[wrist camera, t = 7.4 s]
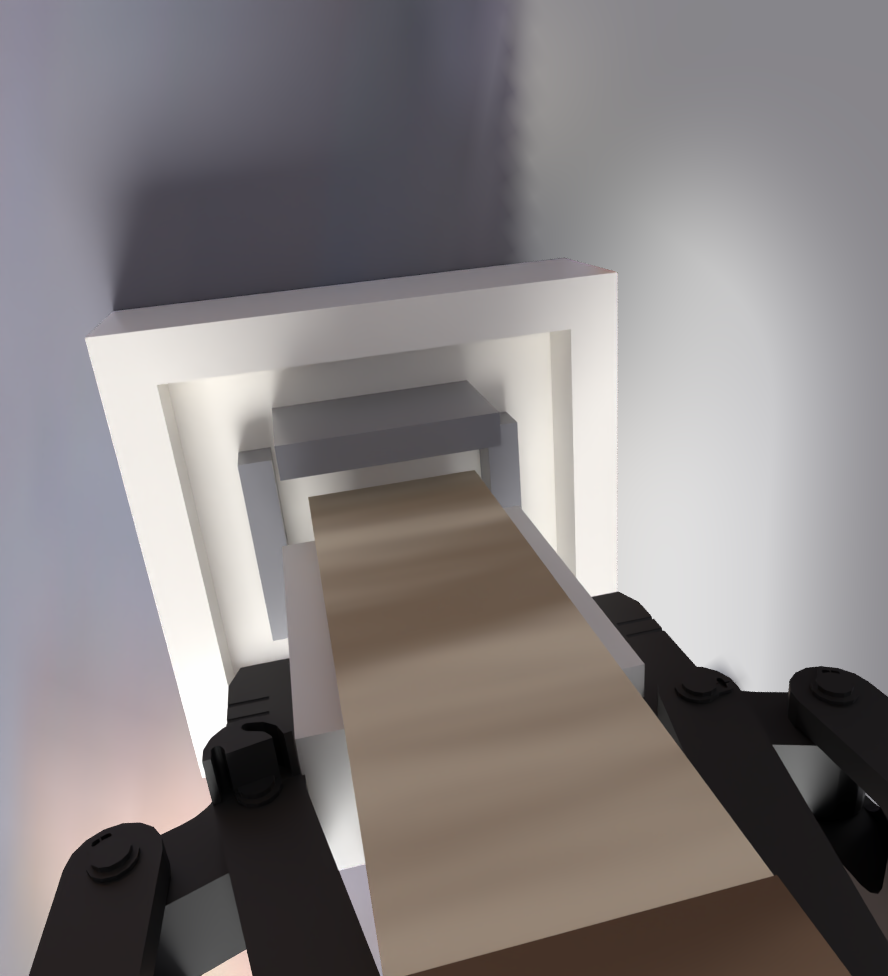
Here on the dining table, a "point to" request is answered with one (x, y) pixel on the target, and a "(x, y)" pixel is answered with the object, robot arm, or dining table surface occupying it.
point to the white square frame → (350, 432)
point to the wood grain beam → (522, 766)
